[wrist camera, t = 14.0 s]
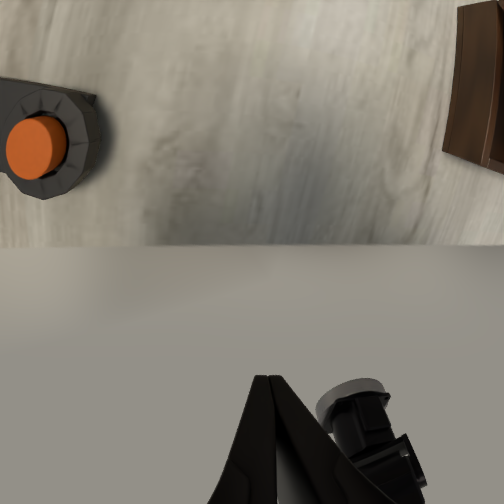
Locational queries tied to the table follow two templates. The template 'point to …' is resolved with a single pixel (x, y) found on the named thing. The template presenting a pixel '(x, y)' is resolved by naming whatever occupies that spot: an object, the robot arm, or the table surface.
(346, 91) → the table surface
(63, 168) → the block
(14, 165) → the button
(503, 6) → the lid
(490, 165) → the chest
